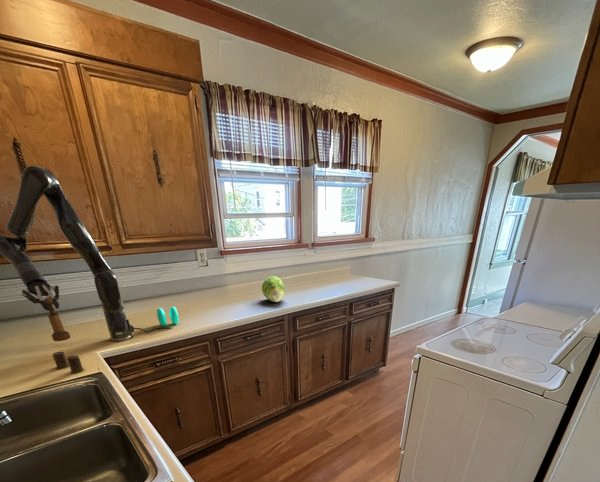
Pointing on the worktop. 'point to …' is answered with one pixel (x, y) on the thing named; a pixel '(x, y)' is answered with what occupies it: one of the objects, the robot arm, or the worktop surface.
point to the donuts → (162, 316)
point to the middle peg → (60, 360)
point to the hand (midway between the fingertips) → (52, 308)
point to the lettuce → (273, 289)
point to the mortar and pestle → (56, 323)
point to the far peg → (75, 364)
